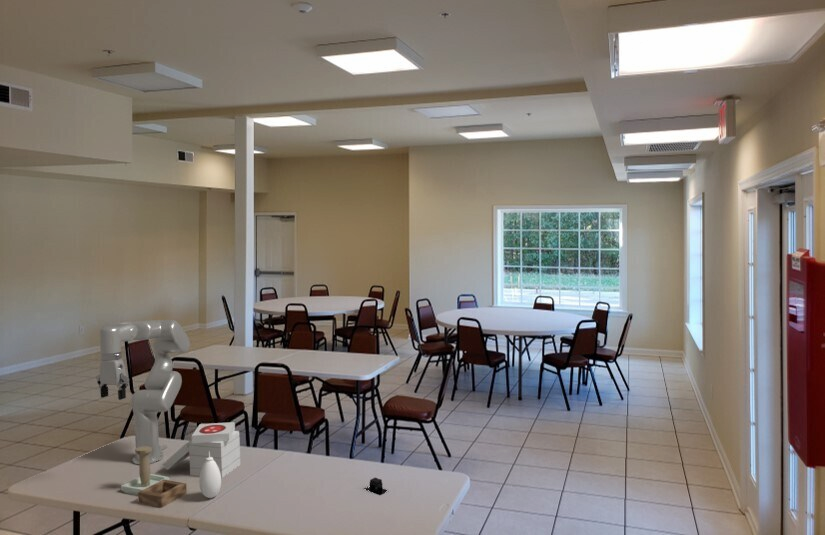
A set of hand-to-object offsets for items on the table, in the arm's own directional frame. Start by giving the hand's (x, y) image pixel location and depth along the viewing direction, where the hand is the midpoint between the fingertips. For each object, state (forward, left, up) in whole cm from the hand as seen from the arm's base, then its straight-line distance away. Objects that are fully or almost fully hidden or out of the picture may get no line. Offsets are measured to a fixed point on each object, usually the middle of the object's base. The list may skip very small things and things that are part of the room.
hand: (113, 397), depth 243 cm
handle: (+2, +18, -34) cm, 38 cm away
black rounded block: (-27, +106, -35) cm, 115 cm away
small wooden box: (+7, +32, -34) cm, 47 cm away
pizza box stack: (-21, +27, -34) cm, 48 cm away
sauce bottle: (0, +49, -34) cm, 60 cm away
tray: (+2, +18, -34) cm, 39 cm away
